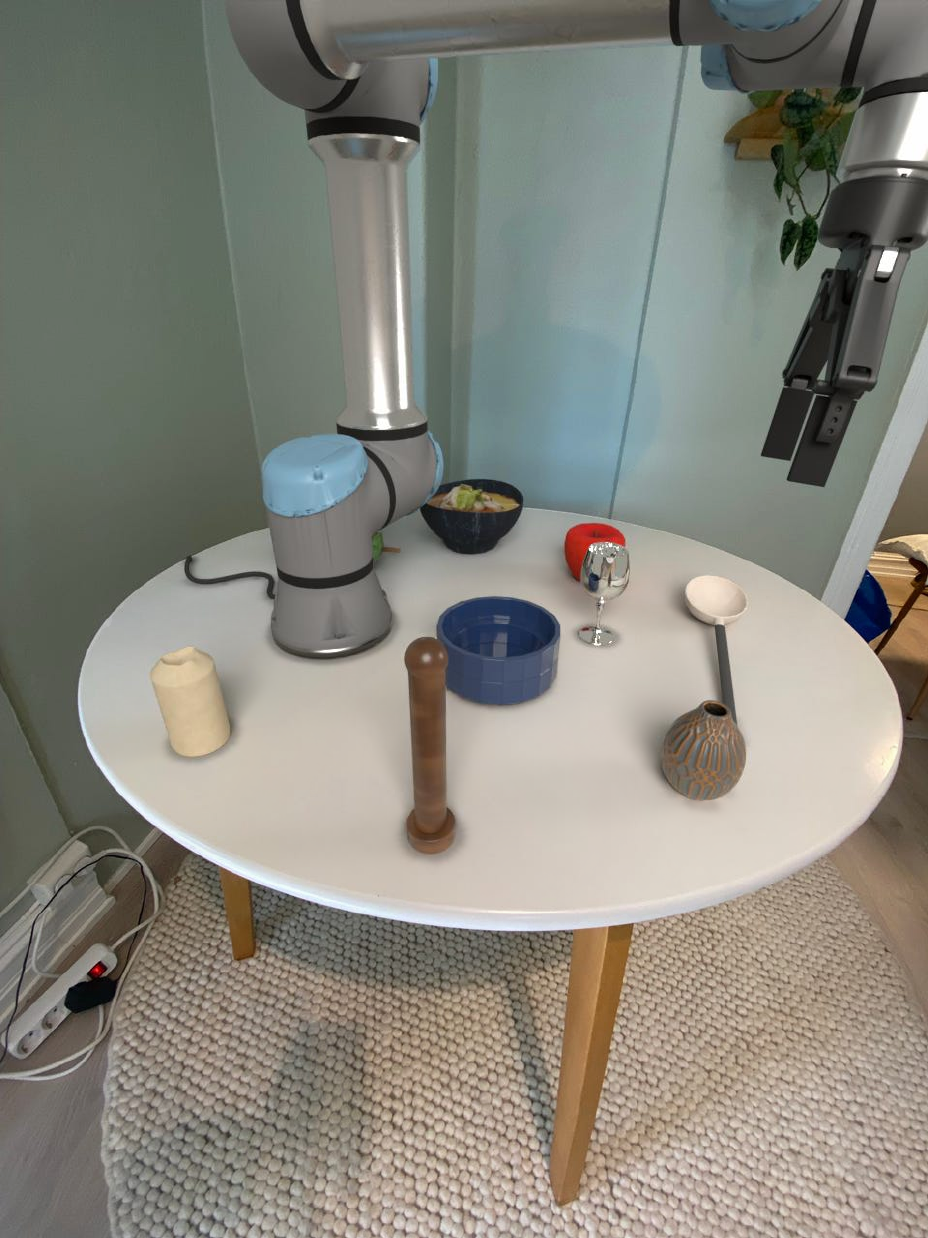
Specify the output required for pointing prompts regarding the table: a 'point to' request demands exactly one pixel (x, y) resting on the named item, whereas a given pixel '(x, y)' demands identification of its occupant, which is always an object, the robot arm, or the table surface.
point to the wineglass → (603, 583)
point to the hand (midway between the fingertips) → (788, 469)
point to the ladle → (718, 620)
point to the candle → (191, 701)
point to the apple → (587, 542)
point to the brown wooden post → (428, 747)
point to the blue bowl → (499, 649)
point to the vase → (704, 752)
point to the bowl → (473, 513)
